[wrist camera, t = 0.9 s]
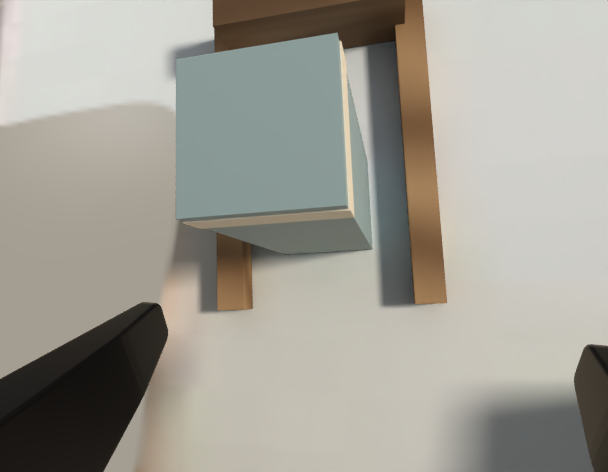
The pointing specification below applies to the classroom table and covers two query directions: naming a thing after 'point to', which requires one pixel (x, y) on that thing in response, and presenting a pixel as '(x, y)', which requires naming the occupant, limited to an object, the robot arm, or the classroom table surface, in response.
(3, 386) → the robot arm
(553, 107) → the classroom table surface
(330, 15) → the wooden beam frame
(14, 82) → the classroom table surface
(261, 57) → the block
